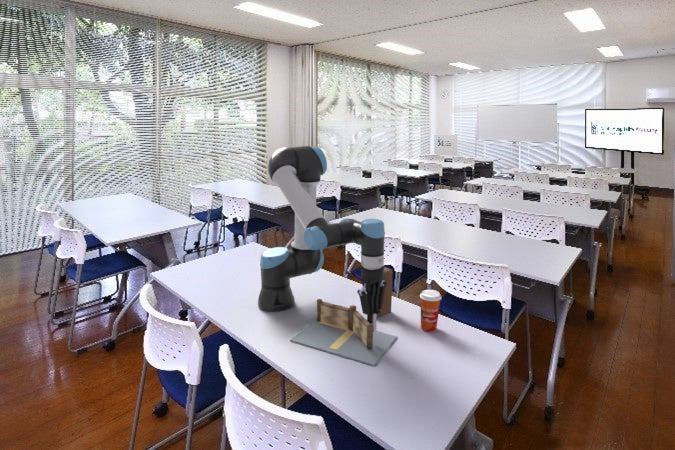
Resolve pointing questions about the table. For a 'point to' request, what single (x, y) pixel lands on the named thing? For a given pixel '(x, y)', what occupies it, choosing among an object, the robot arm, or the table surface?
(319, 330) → the card
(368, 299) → the robot arm
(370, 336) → the fence gate
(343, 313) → the fence fixed
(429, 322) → the paper cup
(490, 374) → the table surface
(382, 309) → the wooden block
